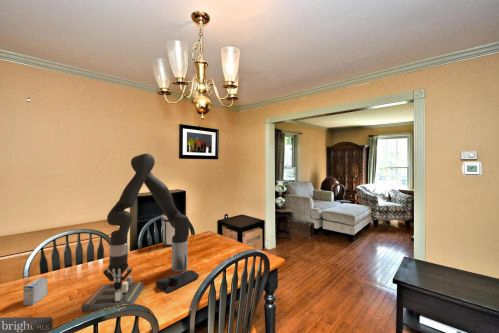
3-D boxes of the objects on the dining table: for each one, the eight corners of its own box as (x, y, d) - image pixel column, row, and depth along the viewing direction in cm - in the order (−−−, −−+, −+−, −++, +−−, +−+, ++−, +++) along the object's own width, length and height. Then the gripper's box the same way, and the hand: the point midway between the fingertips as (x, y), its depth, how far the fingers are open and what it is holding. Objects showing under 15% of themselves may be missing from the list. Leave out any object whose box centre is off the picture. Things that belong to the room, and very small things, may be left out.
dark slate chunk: (202, 280, 127) (203, 271, 127) (164, 295, 111) (164, 286, 111) (189, 270, 138) (189, 263, 138) (152, 283, 122) (152, 275, 122)
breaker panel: (143, 287, 117) (143, 274, 117) (131, 308, 101) (131, 292, 101) (101, 290, 114) (101, 276, 114) (81, 312, 98) (81, 295, 98)
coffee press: (170, 249, 171) (170, 209, 170) (157, 244, 179) (157, 207, 179) (188, 242, 185) (188, 206, 185) (175, 239, 194) (175, 204, 193)
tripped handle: (128, 289, 109) (128, 281, 109) (126, 292, 107) (126, 284, 107) (123, 289, 109) (123, 281, 109) (121, 292, 107) (121, 284, 107)
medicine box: (37, 295, 109) (37, 277, 109) (47, 295, 110) (47, 277, 110) (22, 305, 102) (22, 286, 102) (33, 305, 102) (33, 286, 102)
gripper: (136, 249, 112) (135, 284, 112) (107, 250, 110) (106, 285, 111) (130, 255, 105) (129, 292, 105) (99, 256, 103) (98, 294, 103)
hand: (117, 289), depth 108 cm, fingers closed
